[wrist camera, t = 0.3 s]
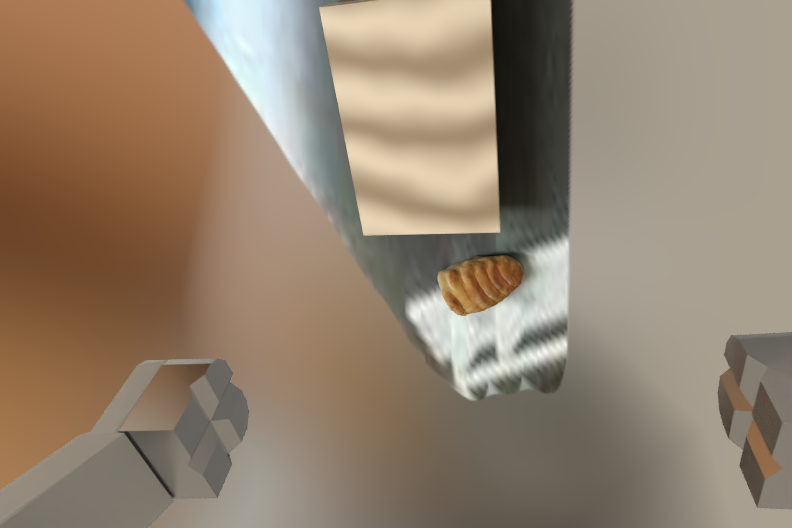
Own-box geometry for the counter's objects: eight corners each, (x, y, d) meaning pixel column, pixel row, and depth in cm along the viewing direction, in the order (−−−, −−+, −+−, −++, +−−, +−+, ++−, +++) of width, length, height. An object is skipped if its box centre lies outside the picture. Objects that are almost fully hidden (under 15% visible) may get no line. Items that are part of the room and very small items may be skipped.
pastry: (506, 236, 61) (505, 256, 58) (534, 281, 64) (535, 302, 60) (434, 269, 65) (429, 288, 62) (463, 309, 68) (460, 330, 65)
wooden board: (335, -3, 50) (319, 7, 46) (492, -23, 47) (489, -14, 43) (374, 212, 62) (363, 235, 58) (501, 208, 59) (500, 232, 55)
